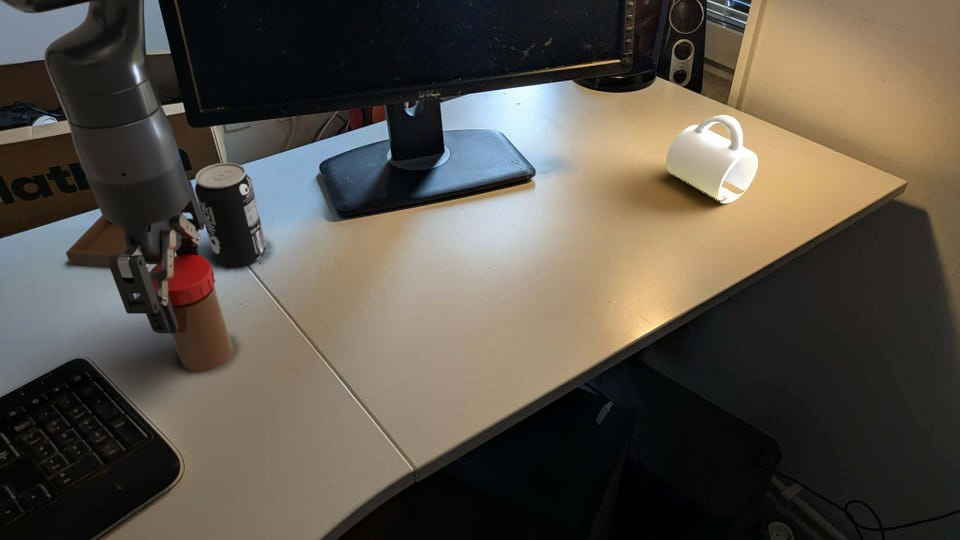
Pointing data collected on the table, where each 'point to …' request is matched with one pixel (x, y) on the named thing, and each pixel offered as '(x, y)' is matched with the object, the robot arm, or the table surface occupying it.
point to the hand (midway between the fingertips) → (182, 301)
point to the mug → (712, 158)
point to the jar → (202, 334)
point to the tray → (98, 244)
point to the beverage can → (230, 213)
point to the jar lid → (188, 279)
